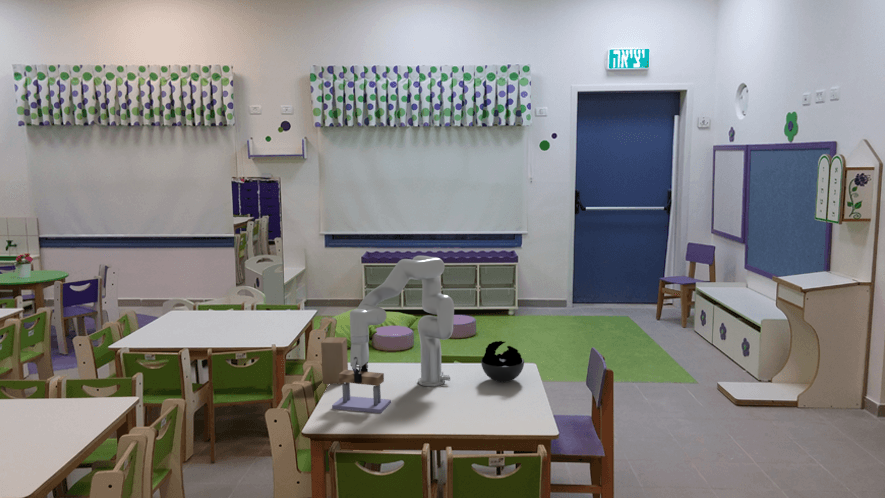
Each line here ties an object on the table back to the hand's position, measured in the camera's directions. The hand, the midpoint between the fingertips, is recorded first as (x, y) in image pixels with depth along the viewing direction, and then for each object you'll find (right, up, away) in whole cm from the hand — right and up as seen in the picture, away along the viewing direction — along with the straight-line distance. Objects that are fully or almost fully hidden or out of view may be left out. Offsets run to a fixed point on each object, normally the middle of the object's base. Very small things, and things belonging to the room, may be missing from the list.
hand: (361, 379), depth 293 cm
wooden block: (-16, -7, +35) cm, 39 cm away
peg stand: (0, -11, +1) cm, 11 cm away
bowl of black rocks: (+63, -7, +30) cm, 70 cm away
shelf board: (0, -1, 0) cm, 1 cm away
